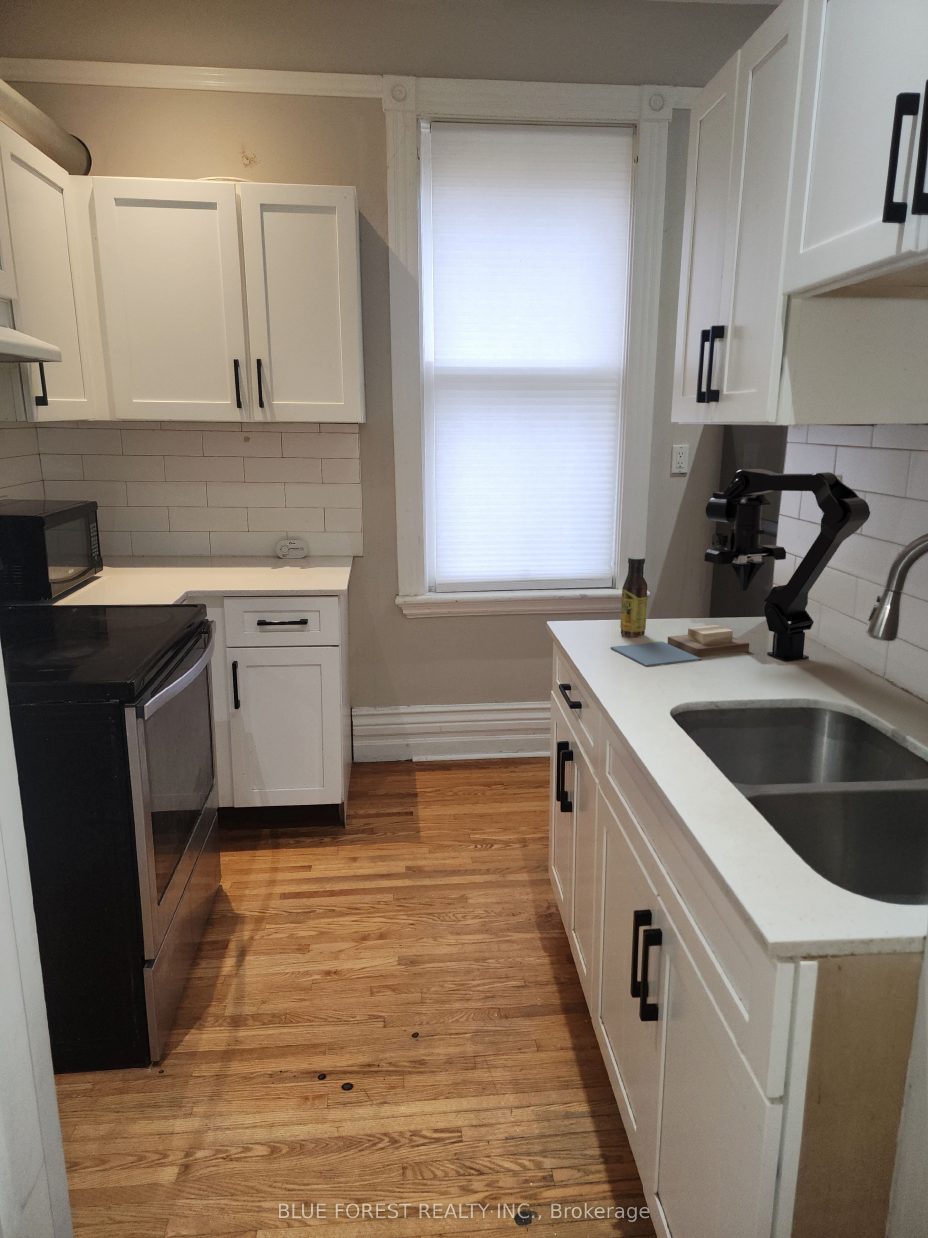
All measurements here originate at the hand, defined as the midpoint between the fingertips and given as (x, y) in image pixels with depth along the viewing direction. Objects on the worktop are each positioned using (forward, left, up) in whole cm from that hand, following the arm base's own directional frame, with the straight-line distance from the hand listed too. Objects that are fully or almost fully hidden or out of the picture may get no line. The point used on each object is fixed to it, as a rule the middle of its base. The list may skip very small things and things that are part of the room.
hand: (743, 590), depth 190 cm
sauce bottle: (+17, +19, -13) cm, 29 cm away
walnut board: (0, +9, -13) cm, 16 cm away
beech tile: (0, +9, -10) cm, 13 cm away
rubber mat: (0, +23, -13) cm, 27 cm away
